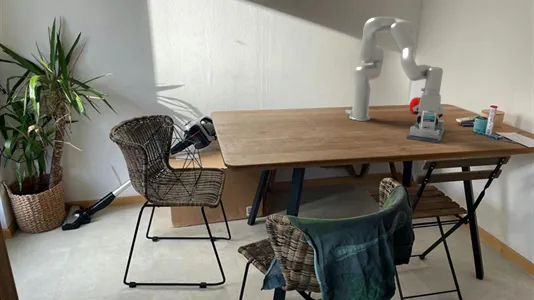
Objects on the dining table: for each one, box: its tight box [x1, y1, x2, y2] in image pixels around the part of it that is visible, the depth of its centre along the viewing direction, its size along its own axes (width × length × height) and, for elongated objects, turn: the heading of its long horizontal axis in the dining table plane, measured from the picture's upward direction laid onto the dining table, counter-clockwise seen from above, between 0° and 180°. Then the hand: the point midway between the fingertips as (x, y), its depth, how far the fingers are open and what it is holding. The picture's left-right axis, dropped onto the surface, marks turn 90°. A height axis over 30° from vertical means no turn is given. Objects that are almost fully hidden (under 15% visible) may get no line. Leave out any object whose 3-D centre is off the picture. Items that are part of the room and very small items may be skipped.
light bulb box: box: [419, 111, 437, 129], centre depth 224 cm, size 11×7×11 cm, turn 168°
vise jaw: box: [415, 117, 445, 129], centre depth 237 cm, size 14×6×6 cm, turn 63°
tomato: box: [408, 96, 421, 114], centre depth 270 cm, size 11×13×10 cm
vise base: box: [406, 123, 445, 144], centre depth 228 cm, size 16×25×6 cm, turn 153°
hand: (426, 124), depth 225 cm, fingers closed on light bulb box, 7 cm apart
